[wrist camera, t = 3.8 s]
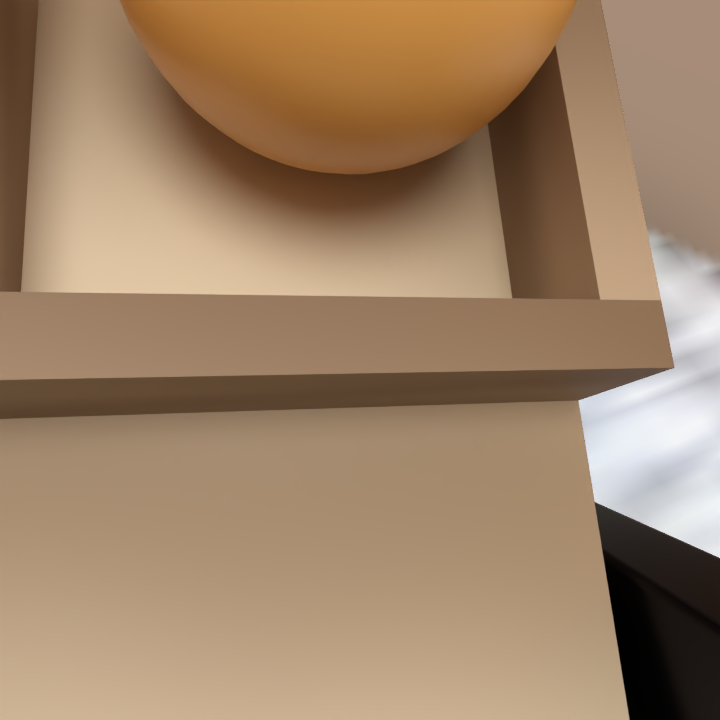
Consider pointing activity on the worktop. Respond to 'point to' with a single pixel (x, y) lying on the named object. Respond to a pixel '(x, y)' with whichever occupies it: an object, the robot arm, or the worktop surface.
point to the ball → (348, 71)
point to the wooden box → (306, 399)
